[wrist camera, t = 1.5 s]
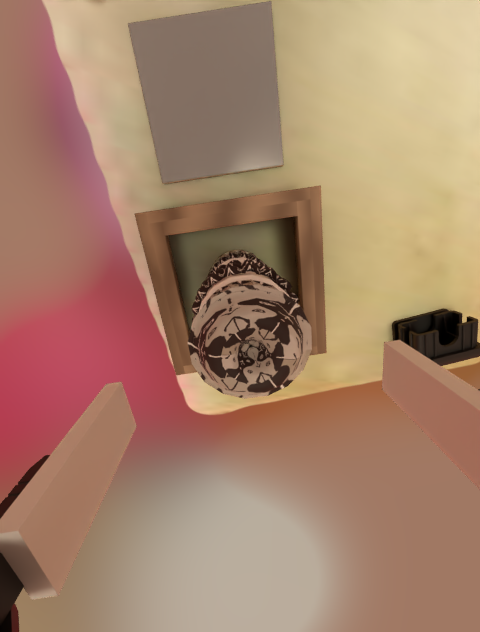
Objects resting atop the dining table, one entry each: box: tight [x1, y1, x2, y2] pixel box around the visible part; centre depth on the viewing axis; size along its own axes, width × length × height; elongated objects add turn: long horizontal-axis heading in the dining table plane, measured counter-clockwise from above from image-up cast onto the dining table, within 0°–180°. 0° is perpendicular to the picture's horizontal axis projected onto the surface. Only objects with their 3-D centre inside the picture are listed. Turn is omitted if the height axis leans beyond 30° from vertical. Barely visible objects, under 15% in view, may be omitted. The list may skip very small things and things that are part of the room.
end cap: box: [392, 309, 480, 366], centre depth 40 cm, size 10×7×7 cm
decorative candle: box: [188, 250, 312, 398], centre depth 27 cm, size 9×9×25 cm
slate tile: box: [128, 1, 284, 184], centre depth 31 cm, size 16×16×1 cm
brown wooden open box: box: [135, 186, 326, 375], centre depth 35 cm, size 20×20×8 cm
